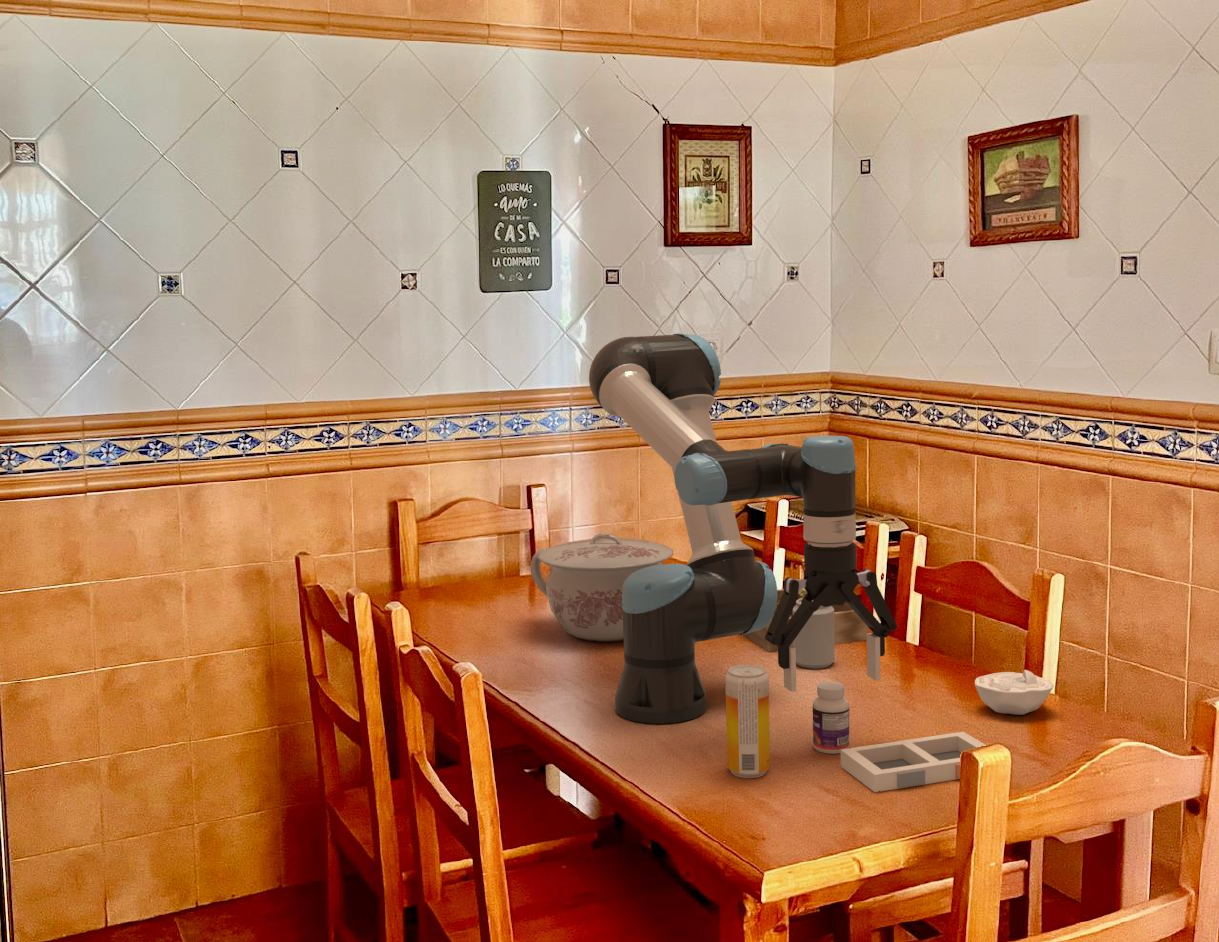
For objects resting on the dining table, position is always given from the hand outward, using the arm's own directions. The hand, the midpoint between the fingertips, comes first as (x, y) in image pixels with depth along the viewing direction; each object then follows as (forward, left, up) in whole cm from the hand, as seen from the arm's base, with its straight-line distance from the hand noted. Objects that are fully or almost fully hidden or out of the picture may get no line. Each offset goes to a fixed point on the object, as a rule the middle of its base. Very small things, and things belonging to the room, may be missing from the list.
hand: (832, 683), depth 183 cm
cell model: (+34, +4, -10) cm, 36 cm away
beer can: (-15, -4, -10) cm, 19 cm away
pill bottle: (0, 0, -10) cm, 10 cm away
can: (+16, +39, -10) cm, 44 cm away
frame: (+22, +60, -10) cm, 65 cm away
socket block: (+8, -12, -10) cm, 17 cm away
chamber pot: (-13, +74, -10) cm, 76 cm away
